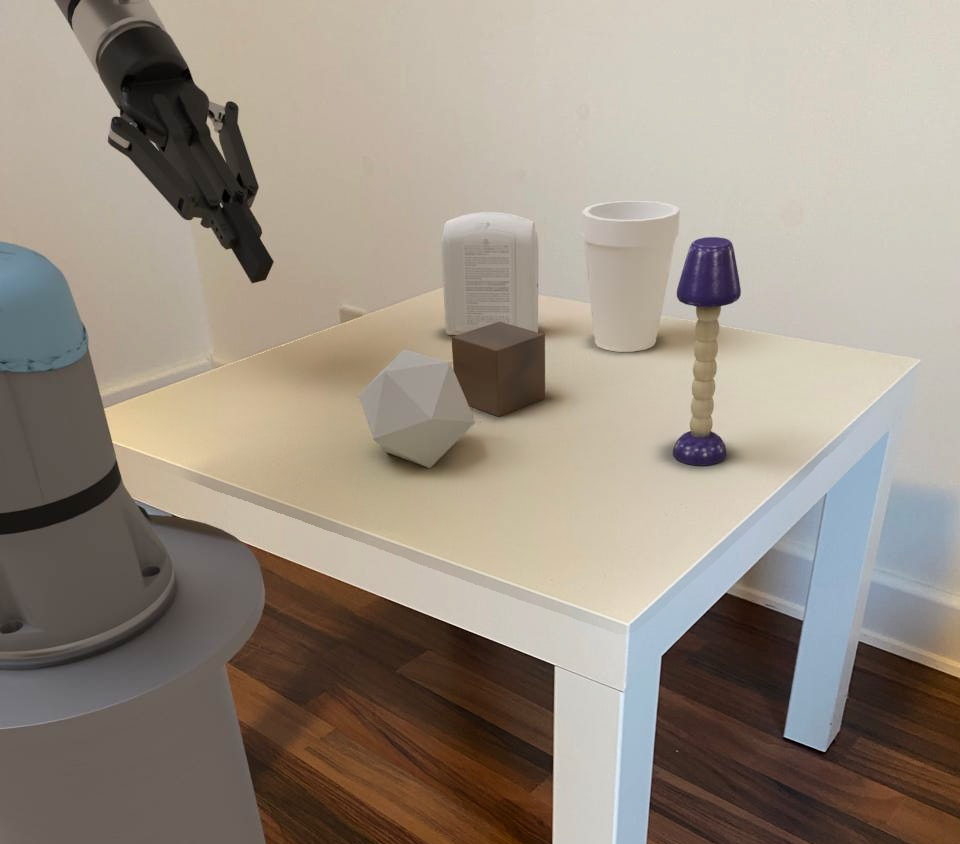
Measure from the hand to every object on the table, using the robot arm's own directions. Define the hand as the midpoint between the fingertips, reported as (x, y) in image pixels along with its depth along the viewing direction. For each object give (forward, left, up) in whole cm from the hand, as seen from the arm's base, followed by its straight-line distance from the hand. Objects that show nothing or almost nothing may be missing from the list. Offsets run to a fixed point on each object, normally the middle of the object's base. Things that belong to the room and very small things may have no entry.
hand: (262, 272), depth 91 cm
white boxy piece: (+26, -2, -12) cm, 28 cm away
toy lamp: (+15, -38, -12) cm, 43 cm away
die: (0, -21, -12) cm, 24 cm away
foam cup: (+33, -15, -12) cm, 38 cm away
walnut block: (+13, -17, -11) cm, 24 cm away
